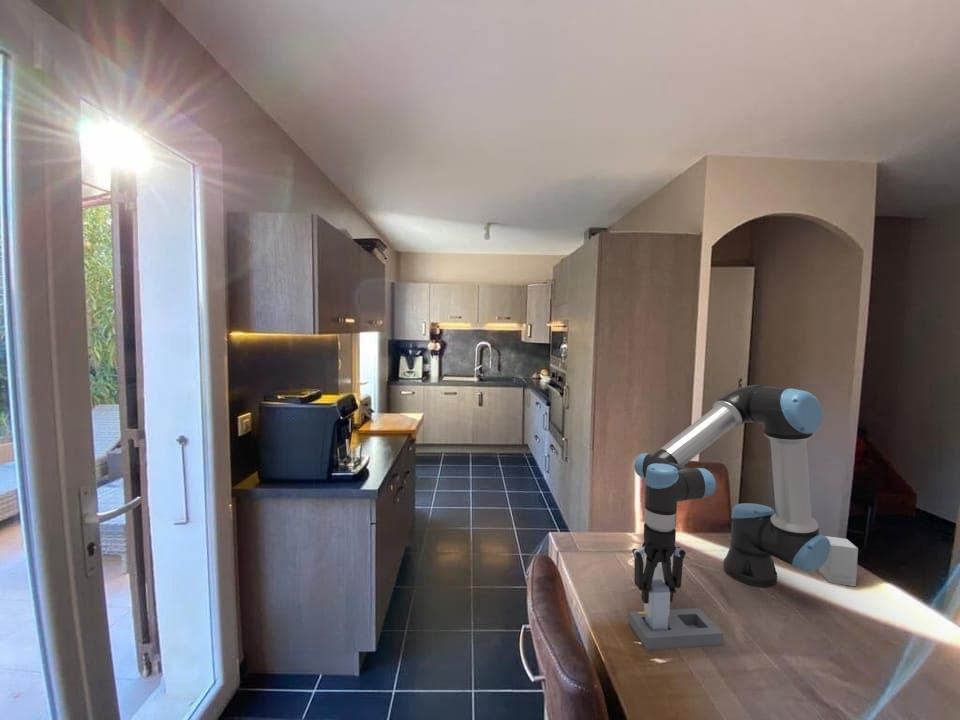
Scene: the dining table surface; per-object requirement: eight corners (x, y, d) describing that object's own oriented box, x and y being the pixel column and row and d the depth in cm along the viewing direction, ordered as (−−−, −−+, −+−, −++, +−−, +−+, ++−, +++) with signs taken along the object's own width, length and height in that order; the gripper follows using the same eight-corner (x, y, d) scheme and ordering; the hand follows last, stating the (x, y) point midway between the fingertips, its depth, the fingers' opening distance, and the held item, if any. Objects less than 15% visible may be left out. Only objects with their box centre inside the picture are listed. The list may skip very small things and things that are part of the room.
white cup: (674, 601, 126) (675, 569, 125) (646, 598, 127) (647, 565, 127) (668, 586, 134) (669, 555, 133) (641, 583, 135) (643, 552, 135)
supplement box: (856, 587, 134) (859, 548, 134) (828, 583, 137) (830, 544, 136) (845, 575, 141) (847, 538, 141) (818, 571, 144) (820, 534, 143)
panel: (697, 621, 117) (698, 607, 117) (722, 648, 107) (723, 632, 107) (628, 626, 115) (628, 611, 115) (646, 653, 105) (647, 637, 105)
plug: (659, 623, 112) (660, 579, 112) (667, 633, 108) (669, 588, 108) (644, 624, 112) (646, 580, 111) (652, 634, 108) (654, 589, 107)
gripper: (682, 518, 113) (679, 602, 115) (621, 520, 112) (618, 606, 113) (700, 531, 106) (696, 621, 107) (634, 533, 104) (631, 625, 105)
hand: (656, 613), depth 110 cm, fingers closed on plug, 4 cm apart
